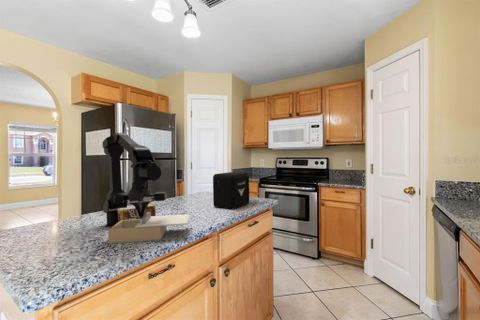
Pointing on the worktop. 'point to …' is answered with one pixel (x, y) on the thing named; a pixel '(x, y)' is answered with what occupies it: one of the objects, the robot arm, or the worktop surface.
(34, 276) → the worktop surface
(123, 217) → the candy box
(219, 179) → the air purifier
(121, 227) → the box
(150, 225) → the lid
